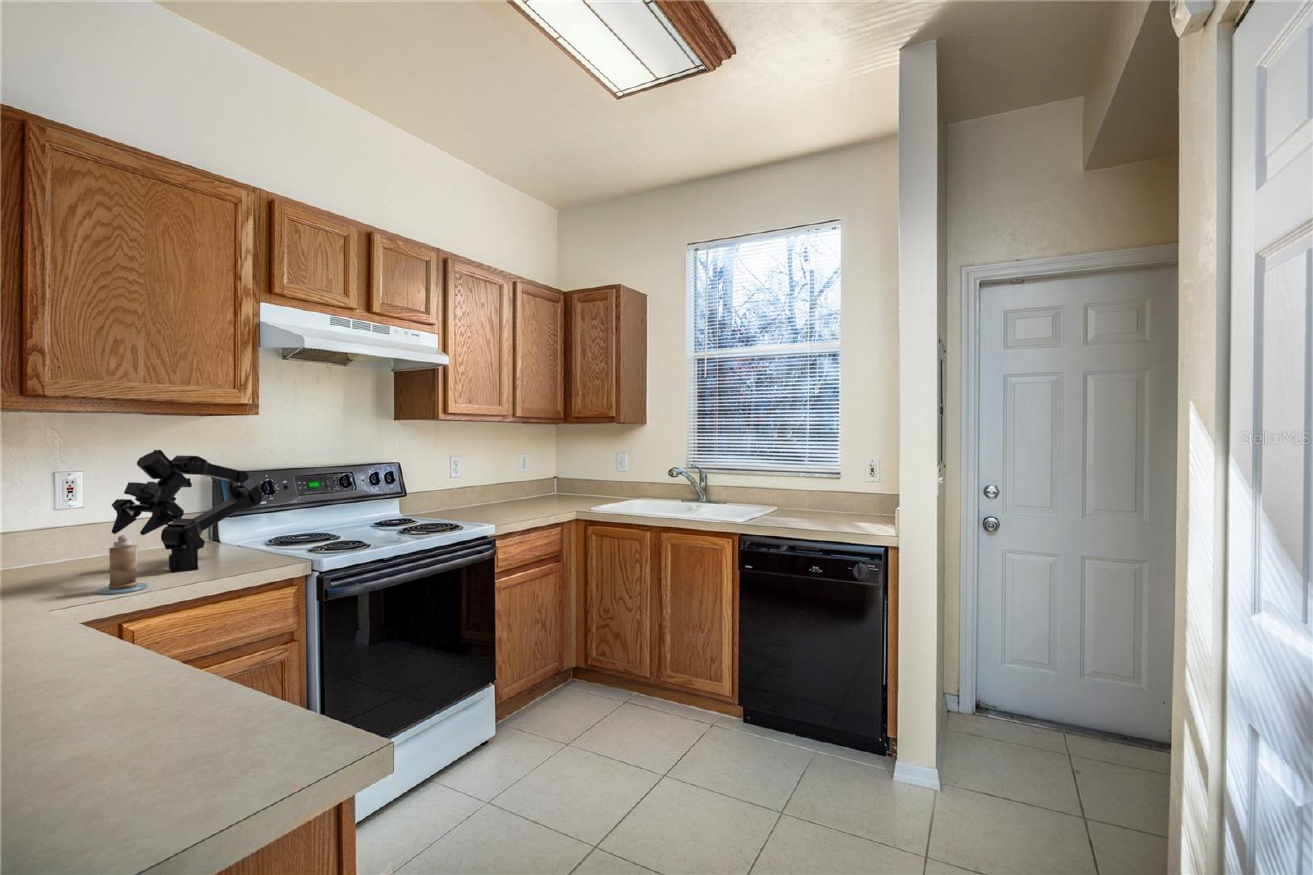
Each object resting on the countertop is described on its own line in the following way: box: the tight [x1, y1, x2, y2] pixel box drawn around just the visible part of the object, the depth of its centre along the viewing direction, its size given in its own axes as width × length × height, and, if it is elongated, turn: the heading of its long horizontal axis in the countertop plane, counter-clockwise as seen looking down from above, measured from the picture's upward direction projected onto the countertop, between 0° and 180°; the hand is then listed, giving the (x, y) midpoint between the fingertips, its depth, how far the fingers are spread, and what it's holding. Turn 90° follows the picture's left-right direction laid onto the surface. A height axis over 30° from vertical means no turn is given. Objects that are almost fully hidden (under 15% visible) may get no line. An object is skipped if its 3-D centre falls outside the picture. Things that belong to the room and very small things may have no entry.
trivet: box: [96, 582, 148, 596], centre depth 163 cm, size 10×10×1 cm
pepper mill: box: [108, 534, 138, 590], centre depth 163 cm, size 6×6×14 cm
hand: (127, 533), depth 169 cm, fingers open, 9 cm apart
